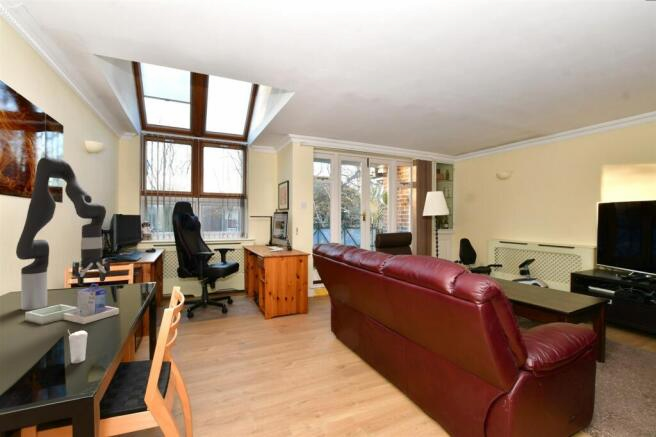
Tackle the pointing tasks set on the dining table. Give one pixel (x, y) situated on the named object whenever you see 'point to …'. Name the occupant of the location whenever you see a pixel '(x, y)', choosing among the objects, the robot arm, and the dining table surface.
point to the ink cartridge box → (91, 301)
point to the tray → (48, 314)
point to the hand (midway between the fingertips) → (91, 283)
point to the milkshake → (78, 346)
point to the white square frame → (73, 316)
